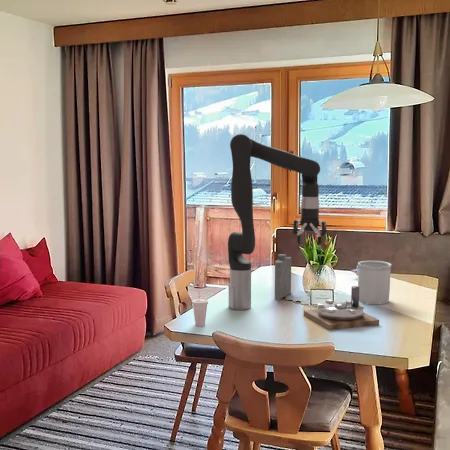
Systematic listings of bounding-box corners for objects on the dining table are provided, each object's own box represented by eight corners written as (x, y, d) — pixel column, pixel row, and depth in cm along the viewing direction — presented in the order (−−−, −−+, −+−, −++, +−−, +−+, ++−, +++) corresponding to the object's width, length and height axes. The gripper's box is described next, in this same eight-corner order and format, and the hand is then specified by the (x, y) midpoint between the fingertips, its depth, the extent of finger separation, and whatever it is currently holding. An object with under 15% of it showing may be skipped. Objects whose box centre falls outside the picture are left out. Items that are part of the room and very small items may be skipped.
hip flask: (280, 300, 267) (280, 257, 265) (271, 299, 269) (272, 256, 266) (291, 292, 281) (292, 252, 279) (283, 291, 283) (284, 251, 281)
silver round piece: (309, 310, 239) (309, 285, 238) (345, 306, 246) (346, 282, 245) (334, 322, 222) (335, 295, 221) (372, 317, 229) (373, 291, 228)
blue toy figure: (346, 276, 319) (347, 261, 318) (366, 275, 321) (367, 260, 320) (355, 281, 307) (355, 265, 306) (376, 280, 309) (376, 264, 308)
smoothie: (199, 321, 232) (199, 287, 230) (211, 324, 228) (211, 289, 226) (188, 325, 227) (188, 290, 225) (200, 328, 223) (200, 292, 221)
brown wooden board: (329, 330, 221) (329, 324, 220) (303, 315, 241) (303, 310, 241) (379, 324, 227) (379, 319, 227) (350, 310, 248) (350, 305, 248)
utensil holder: (388, 306, 256) (389, 267, 254) (354, 303, 261) (355, 265, 259) (391, 298, 269) (393, 261, 267) (359, 295, 275) (360, 259, 273)
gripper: (328, 207, 248) (328, 244, 250) (297, 205, 254) (296, 242, 256) (323, 208, 241) (322, 246, 243) (291, 207, 248) (290, 244, 249)
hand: (309, 244), depth 250 cm, fingers open, 8 cm apart
